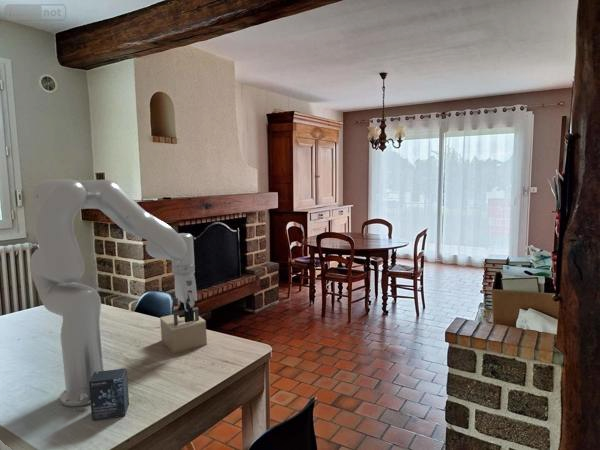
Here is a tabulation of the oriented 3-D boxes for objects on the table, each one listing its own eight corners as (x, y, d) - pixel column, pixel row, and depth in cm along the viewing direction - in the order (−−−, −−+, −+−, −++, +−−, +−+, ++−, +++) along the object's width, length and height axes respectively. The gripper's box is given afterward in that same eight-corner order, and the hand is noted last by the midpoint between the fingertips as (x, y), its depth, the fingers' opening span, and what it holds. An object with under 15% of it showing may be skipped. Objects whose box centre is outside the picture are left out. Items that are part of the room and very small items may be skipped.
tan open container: (206, 344, 144) (205, 323, 143) (173, 353, 137) (172, 331, 136) (193, 332, 156) (191, 312, 155) (161, 340, 149) (160, 319, 148)
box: (91, 421, 100) (88, 381, 99) (97, 409, 105) (94, 371, 104) (125, 417, 102) (122, 377, 100) (129, 404, 107) (126, 367, 106)
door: (205, 323, 143) (204, 308, 143) (172, 331, 136) (171, 315, 136) (191, 312, 155) (191, 298, 154) (160, 319, 148) (159, 305, 147)
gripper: (203, 271, 134) (205, 323, 137) (185, 263, 148) (188, 310, 151) (181, 275, 130) (184, 328, 132) (165, 266, 144) (168, 314, 146)
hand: (186, 318), depth 142 cm, fingers open, 5 cm apart
